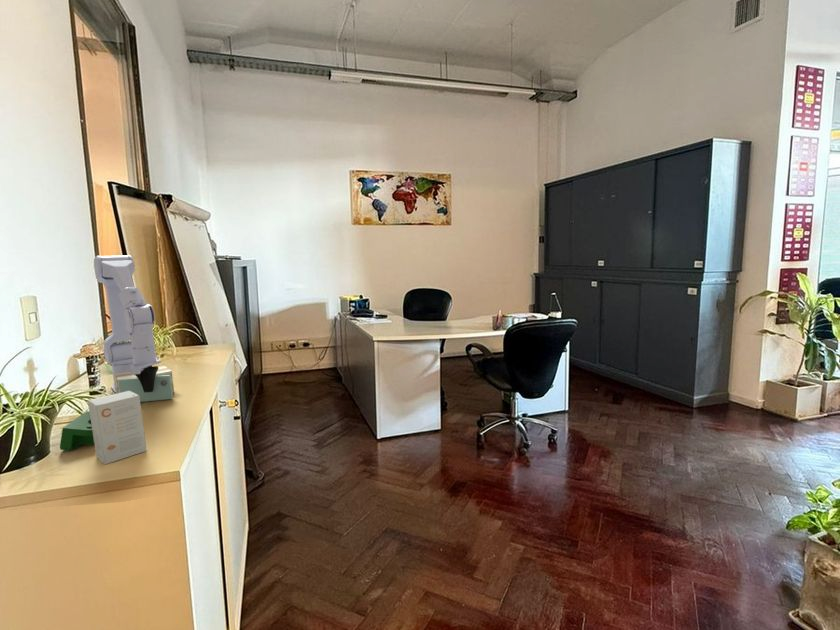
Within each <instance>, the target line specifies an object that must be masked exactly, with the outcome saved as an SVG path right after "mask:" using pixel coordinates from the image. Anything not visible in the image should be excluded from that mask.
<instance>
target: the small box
mask: <svg viewBox="0 0 840 630" xmlns="http://www.w3.org/2000/svg"><path fill="white" fill-rule="evenodd" d="M87 402H88V403H87V404H88V411H90V418H91V424H92V431H93V438H94V444H95V445H94V449H95V456H96V458H97V459H99V461H101V462H102V463H103V464H105V465H108V464H110V463H113V462H116V461H121V460H122V459H123V460H124V459H125V458H129V457H131V456H135V455H137V454H138V455H139V454H141V453H145V452H146V451H147V444H146V443H147V442H146V438H145V437H146V435H145V426H144V422H143V421H144V420H143V415H142V414H143V413H142V407H141V402H140V397H139V395H137V394H135V393H133V392H131V391H126V392H121V393H113V394H108V395H104V396H101V397H97V398H92V399H88V400H87Z"/></svg>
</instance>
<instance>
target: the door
mask: <svg viewBox="0 0 840 630" xmlns="http://www.w3.org/2000/svg"><path fill="white" fill-rule="evenodd" d="M118 382H119V389H120V393H121V392H126V391H131V392H133V393H135V394H137V395H139V397H140V403H141V402H152V401H161V400H162V401H163V400H172V399H173V398H174V394H173V393H174V392H173V393H172V385H171V376H170V375H161V376H155V380H154V389H153V392H146V393H144V390H143V387H142V385H141V383H140V381H139V379H138V378H126V379H119V380H118Z"/></svg>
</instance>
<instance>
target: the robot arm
mask: <svg viewBox="0 0 840 630" xmlns="http://www.w3.org/2000/svg"><path fill="white" fill-rule="evenodd" d="M135 267H136V265H135V261H134V258H133V256H131V255H130V254H127V255H96V256H95V257H94V258H93V269H94V273H95V274H94V276H95V279H96V282H97V283H101V284H103V285H104V288H105V292H106V299H107V307H108V313H109V314H108V315H109V317H110V318H109V320H110V325H111V334H110V335H108V336H107V337H106V338H105V339H104V340H103V343H102V344H103V356H104V359H105V362H106V363H107V364H109V365H111V369H112V370H111V371H112V377H113V378H112V379H113V385H111V389H112V390H113V392H114V394H117V392H116V384H115V377H114V374H119V373H125V372H131V373H132V375H133V374H135V375H136V376H137V378H138V379H139V381H140V383H141V385H142V387H143V390H144V393H146V392H153V389H154V380H155V376H156V373H157V371H158V367H159V366H156V364H160V363H162V360H161V359H159V356H158V355H157V353H156V344H155V338H154V336H155V335H154V329H153V324H154V323H155V321H156V320H155V319H156V316H155V311H154V308H153V306H152V305H151V304H149V302H146V299H145V297H144V296H143V293H142V291H141V290H140V289H139V288H137V287H135V284H134V280H133V278H132V277H133V275H134V273H135V270H136V269H135ZM154 325H155V324H154ZM154 365H155V366H154Z"/></svg>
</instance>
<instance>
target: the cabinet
mask: <svg viewBox="0 0 840 630" xmlns="http://www.w3.org/2000/svg"><path fill="white" fill-rule="evenodd" d="M161 375H170V376H171V385H172V393H175V387H174V378H173V371H172V370H171V369H170V368H169V367H167V366H165V365H160V366H158V371H157V373H156V376H161ZM114 377H115V384H116V392H117V393H120V389H119V382H118V380H119V379H126V378H137V376H136V375H135V374H133V375H132V373H131V372H125V373H119V374H114ZM117 393H116V394H117Z"/></svg>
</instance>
